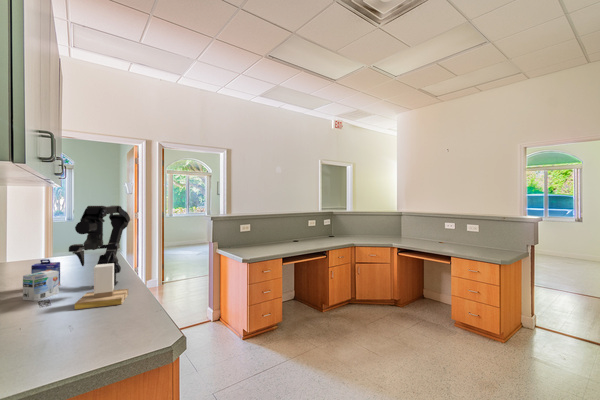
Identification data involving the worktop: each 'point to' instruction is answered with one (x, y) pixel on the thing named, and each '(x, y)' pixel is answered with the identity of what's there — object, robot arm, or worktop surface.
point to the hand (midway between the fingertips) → (94, 265)
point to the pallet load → (103, 280)
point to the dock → (101, 300)
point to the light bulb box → (40, 285)
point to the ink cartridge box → (46, 267)
